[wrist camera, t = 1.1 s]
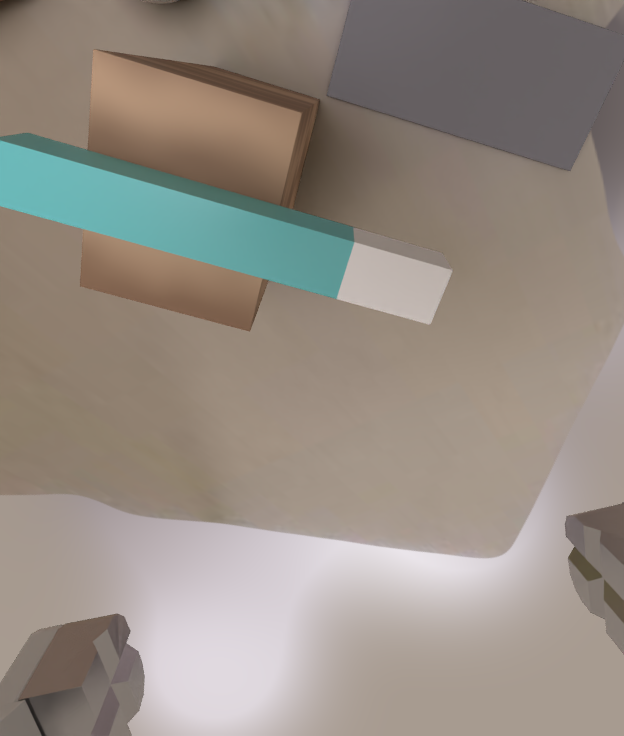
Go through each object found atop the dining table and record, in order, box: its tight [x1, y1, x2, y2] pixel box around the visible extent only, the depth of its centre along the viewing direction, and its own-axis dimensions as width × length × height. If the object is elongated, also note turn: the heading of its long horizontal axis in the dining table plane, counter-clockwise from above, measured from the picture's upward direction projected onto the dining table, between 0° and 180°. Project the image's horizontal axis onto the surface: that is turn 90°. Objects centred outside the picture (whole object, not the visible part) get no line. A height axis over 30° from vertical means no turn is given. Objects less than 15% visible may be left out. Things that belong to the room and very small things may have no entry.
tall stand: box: [80, 49, 320, 331], centre depth 39 cm, size 12×10×26 cm
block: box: [0, 133, 453, 325], centre depth 26 cm, size 3×22×3 cm, turn 75°
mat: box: [327, 0, 624, 171], centre depth 46 cm, size 11×24×1 cm, turn 75°
